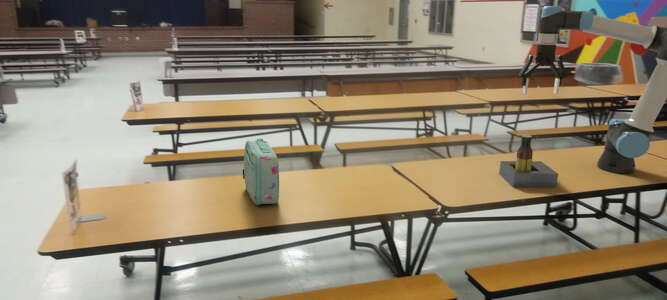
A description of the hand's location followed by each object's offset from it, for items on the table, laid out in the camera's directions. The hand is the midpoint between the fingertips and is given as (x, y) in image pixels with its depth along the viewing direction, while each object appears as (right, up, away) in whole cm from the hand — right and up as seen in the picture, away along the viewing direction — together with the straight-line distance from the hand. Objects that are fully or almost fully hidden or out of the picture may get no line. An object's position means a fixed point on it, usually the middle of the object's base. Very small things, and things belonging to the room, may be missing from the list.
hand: (540, 93), depth 205 cm
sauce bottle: (-10, -38, -5) cm, 40 cm away
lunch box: (-119, -43, -23) cm, 128 cm away
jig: (-8, -38, -5) cm, 39 cm away
